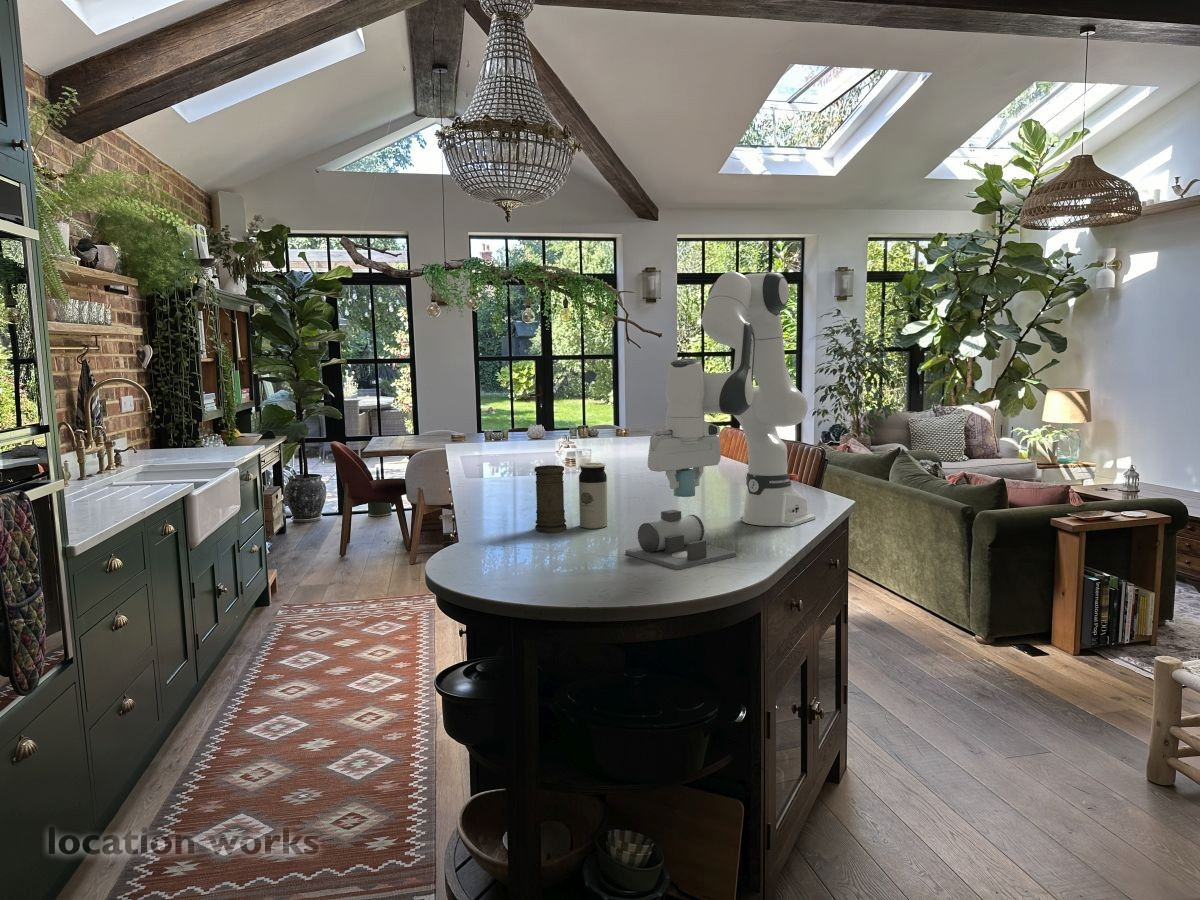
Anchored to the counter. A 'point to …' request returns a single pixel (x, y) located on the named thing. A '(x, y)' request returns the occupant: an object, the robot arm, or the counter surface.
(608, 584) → the counter surface
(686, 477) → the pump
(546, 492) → the container
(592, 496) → the travel mug
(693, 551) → the motor unit
